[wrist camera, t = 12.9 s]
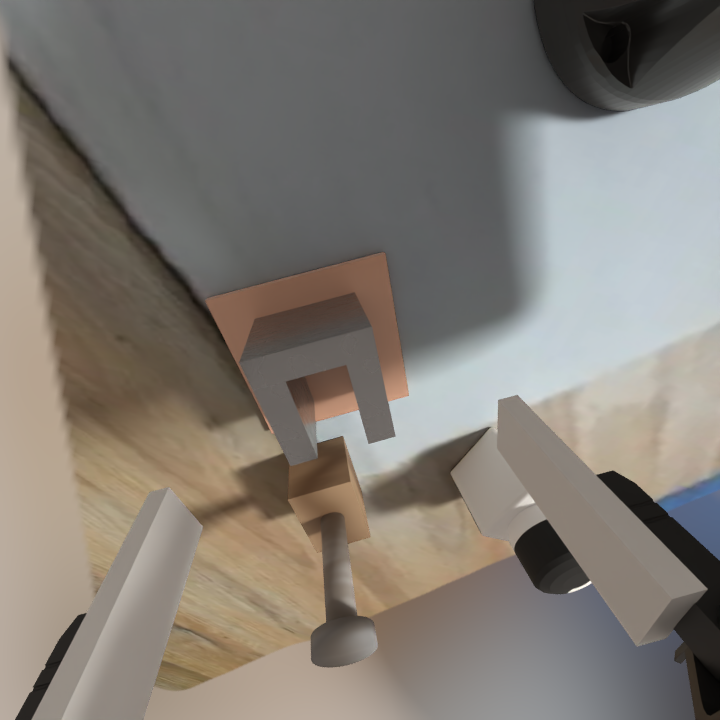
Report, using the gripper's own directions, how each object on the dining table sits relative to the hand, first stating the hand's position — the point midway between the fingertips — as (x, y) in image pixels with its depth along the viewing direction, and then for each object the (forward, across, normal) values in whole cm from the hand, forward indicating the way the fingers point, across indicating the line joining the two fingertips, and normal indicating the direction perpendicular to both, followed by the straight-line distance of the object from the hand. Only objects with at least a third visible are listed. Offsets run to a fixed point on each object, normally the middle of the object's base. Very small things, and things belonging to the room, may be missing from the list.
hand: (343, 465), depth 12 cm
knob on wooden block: (+12, -4, -14) cm, 19 cm away
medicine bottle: (+13, +13, -19) cm, 26 cm away
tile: (+12, -1, -1) cm, 12 cm away
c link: (+12, -1, -1) cm, 12 cm away
